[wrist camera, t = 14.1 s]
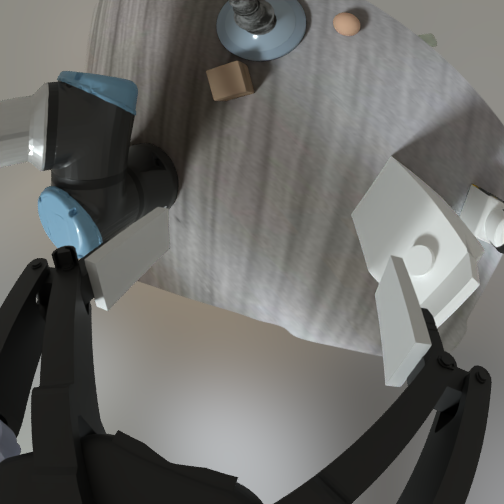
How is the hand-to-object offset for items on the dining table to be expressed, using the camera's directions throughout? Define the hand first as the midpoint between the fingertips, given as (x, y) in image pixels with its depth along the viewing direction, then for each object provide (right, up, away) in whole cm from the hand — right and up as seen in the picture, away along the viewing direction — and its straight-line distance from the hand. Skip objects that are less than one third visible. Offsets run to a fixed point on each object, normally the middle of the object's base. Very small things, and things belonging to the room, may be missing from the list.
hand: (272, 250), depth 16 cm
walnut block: (-4, +27, +23) cm, 35 cm away
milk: (+23, +8, +26) cm, 35 cm away
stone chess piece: (0, +35, +16) cm, 38 cm away
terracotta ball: (+12, +33, +12) cm, 37 cm away
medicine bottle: (+39, +8, +21) cm, 44 cm away
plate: (0, +35, +17) cm, 39 cm away
